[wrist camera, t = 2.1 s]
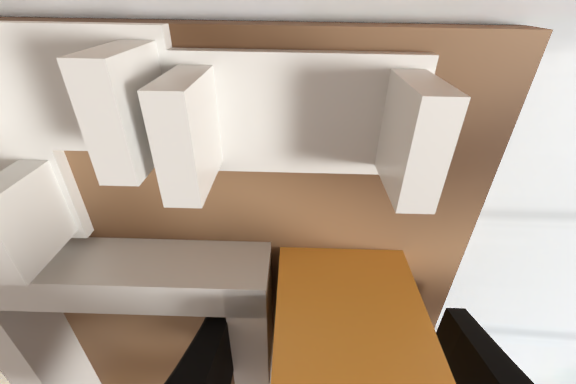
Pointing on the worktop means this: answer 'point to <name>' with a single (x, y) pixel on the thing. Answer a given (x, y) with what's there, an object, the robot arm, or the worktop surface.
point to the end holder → (137, 302)
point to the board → (313, 179)
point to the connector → (352, 320)
